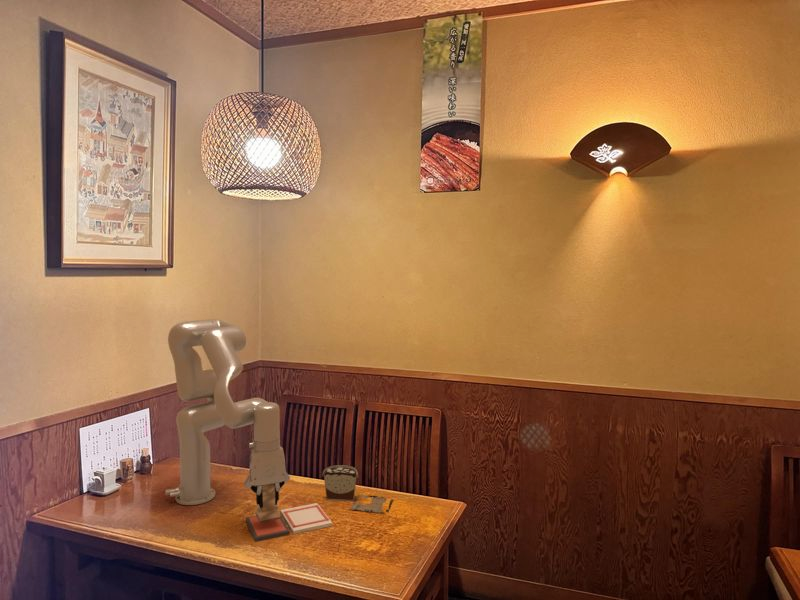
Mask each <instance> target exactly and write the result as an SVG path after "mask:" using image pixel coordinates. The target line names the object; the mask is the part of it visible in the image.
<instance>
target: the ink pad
mask: <svg viewBox="0 0 800 600" xmlns="http://www.w3.org/2000/svg"><path fill="white" fill-rule="evenodd" d="M245 522H246V524H247V527H248V530H249V531H250V533H251V535H252V538H253V540H254V542H256V543H257V542H259V541H260V542H261V541H264V540H265V541H266V540H269V539H274V538H279V537H284V536H289V535H291V529H290V528H289V526H288V525H287V523H286V521H285V520H284V518H283V516H282V515H280V519H276V520H271V521H266V522H262V523H260V522H259V520H258V518H257V516H256V515H252V516H248V517H247V516H246V517H245Z"/></svg>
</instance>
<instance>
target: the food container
mask: <svg viewBox="0 0 800 600" xmlns="http://www.w3.org/2000/svg"><path fill="white" fill-rule="evenodd" d="M321 476H322V477H323V479H324V489H325V498H326V500H327V501H328V500H329V501H345V502H354V501H355V495H356V484H357V478H359V473H358V470H357V469H356V468H355V467H353V466H351V465H344V464H342V465H341V464H339V465H332V466H328V467H326V468H325V469H323V471H322V474H321Z"/></svg>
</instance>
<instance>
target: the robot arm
mask: <svg viewBox="0 0 800 600" xmlns="http://www.w3.org/2000/svg"><path fill="white" fill-rule="evenodd" d="M167 342H168V343H167V344H168V348H169V351H170V354H171V356H172V360H173V362H174V363H173V364H174V373H175V381H176V389H177V394H178V397H179V398H180V400H181V401H182V402H194V401H199V400H204V399H207V401H206V402H205V401H204V402H201V403H197V404H191V405H188V406H185V407H183V408H182V409H181V410H179V411H178V413H177V415H176V419H175V422H176V423H175V424H176V428H177V432H178V433H177V434H178V441H179V468H180V469H179V477H180V483H179V484H178V486H177V487H175V488H169V489H165V496H166V497H167V496H169V497H170V498H173V497H175V501H176V503H177V504H179V505H183V506H196V505H197V506H198V505H201V504H204V503H208V502H209V501H212V500H213V499H214V498H215V497H216V490H215V489H214V488H213V487H211V443H210V441H209V440H208V438H207V437H206V436H205V433H206V432H208V431H212V430H215V429H218V428H221V427H223V426H226V427H228V428H229V429H239V428H242V427H246V426H249V425H253V441H252V442H249V443H248V448H249V449H250V448H251V449H252V450H251V453H250V458H249V472H248V473H249V474H248V476H247V478H246V480H245V481H244V483H243V486H244V488H246V489H248V490H251V491H252V492H254V494H256V495H255V498H256V500H255V502H256V506H259V507H260V508H262V507H263V495H262V493H261V489H262V486H263V485H269V484H275V505H277V506H278V501H279V500H280V494H279V493H280V491H281V489H282V488H283V486H284V485H285V484H286V483H287V482H288V481H290V480H291V477H290V475H289V473H288V472H287V471H286V460H285V459H286V458H285V453H284V452H285V451H284V448H283V447H282V446H281V433H280V432H281V429H280V427H281V424H280V423H281V420H280V419H281V418H280V417H281V416H280V411H281V409H280V405H279V404H278V403H277V402H271V401H267V400H265V399H264V398H261V397H252V398H248V399H243V400H239V401H236V402H235V401H233V398H232V396H231V394H230V391H229V385H230V382H231V381H233V380H235V378H237V377H238V376H239V375H240V374H241V373H242V371H243V370H244V365H243V364H244V363H242V361H241V359H240V357H239V355H238V353H237V352H240V351H242V350H244V349H245V347H246V344H247V336H246V334H245V332H244V331H243V329H241V328H240V327H239V326H237V325H235V324H232V323H230V322H227V321H223V320H221V319H201V320H189V321H182V322H179V323H176V324H175V325H173V326H172V327H171V329H170V330H169V332H168V336H167ZM198 346H199V347H200V346H202V349H203V350H204V353H205V355H206V358H207V359H208V361H209V364H210V366H211V368H212V369H211V368H210V369H205V370H203V363H202V358H201V356H200V354H199V353H198V351H197V350H196V349H194V347H198Z"/></svg>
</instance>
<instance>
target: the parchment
mask: <svg viewBox="0 0 800 600" xmlns="http://www.w3.org/2000/svg"><path fill="white" fill-rule="evenodd" d="M359 498H363V500H368V499H369V498H371V501H370V502H369V503H366V504H363V502H357V500H358V499H359ZM386 502H387V498H386V497H384V496H378V495H369V494H368V495H365V494H357V496H356V498H354V501H353V504H352V506H351V507H350V511H353V510H357V511H361V512H365V513H367V512H368V513H371V512H372V513H380V514H383V515H385V512H386V513H388V512H389V511H390V508H391V507H392V506H391V505H392V502H393V499H390V501H389V504H388V509H386V510H385V512H384V511H383V505H384V503H386Z"/></svg>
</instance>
